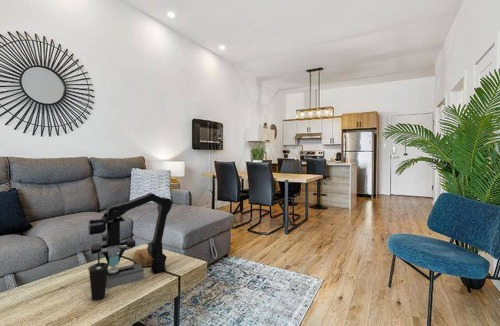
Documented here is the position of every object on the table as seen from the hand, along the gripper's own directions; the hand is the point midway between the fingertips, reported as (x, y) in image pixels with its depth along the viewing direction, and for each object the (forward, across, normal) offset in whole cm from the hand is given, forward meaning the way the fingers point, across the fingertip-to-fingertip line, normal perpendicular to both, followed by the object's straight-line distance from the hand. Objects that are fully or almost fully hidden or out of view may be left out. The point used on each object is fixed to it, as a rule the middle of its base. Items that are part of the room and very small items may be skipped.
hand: (113, 263), depth 122 cm
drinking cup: (+10, +7, +11) cm, 16 cm away
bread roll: (+10, -17, -16) cm, 25 cm away
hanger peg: (+4, 0, 0) cm, 4 cm away
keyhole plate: (+10, -4, 0) cm, 10 cm away
